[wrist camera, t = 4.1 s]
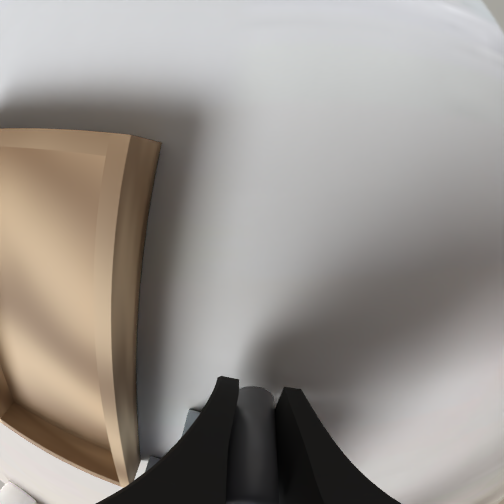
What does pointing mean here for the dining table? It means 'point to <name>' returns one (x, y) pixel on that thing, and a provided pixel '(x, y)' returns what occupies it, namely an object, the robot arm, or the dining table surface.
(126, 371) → the tray
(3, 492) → the foam cup
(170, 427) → the dining table surface
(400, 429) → the dining table surface
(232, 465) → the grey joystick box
